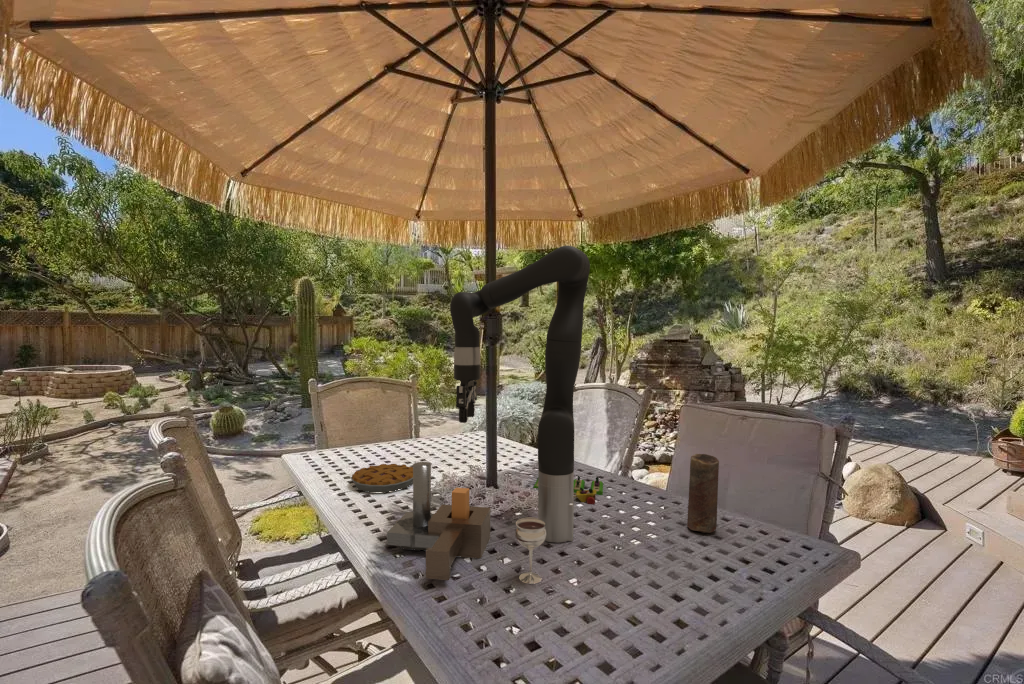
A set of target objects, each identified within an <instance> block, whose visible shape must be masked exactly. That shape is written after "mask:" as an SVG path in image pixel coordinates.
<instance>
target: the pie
mask: <svg viewBox="0 0 1024 684" xmlns="http://www.w3.org/2000/svg"><path fill="white" fill-rule="evenodd" d="M350 479H351V482H352V483H354V486H355V488H356V489H357V488H358V490H359V489H360V490H359V491H361V490H363V491H362V492H364V491H369V492H368V493H370V492H389V491H395V490H398V489H401V488H405V487H407V486H408V487H410V486H412V485H413V466H407V465H406V464H398V463H391V464H386V463H382V464H379V465H378V464H377V465H370V466H369V467H362V468H360V469H359V470H355V471H354V473H353V474H351V476H350ZM409 485H410V486H409ZM408 487H407V488H408ZM405 489H406V488H405ZM398 491H399V490H398ZM395 492H396V491H395ZM389 493H390V492H389Z"/></svg>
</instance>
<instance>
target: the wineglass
mask: <svg viewBox="0 0 1024 684" xmlns="http://www.w3.org/2000/svg"><path fill="white" fill-rule="evenodd" d="M515 525H516V528H515V538H516V540H517V542H518V543H519V544H520V545H521V546H522V547H523V548H526V549H527V550H528V560H529V563H528V564H529V571H525V572H523V573H521V574H520V575H519V580H520V582H522V583H524V584H531V585H532V584H533V585H534V584H538V583H540V582H541V581H542V580H543V577H542V576H541V577H542V578H541V577H540V576H539V575H538V574H539V573H538V574H536V573H537V572H535V573H533V570H532V569H533V568H532V567H533V553H534V550H535V549H536V548H539V547H540V546H541V545H542V544H544V542H546V541H545V538H546V529H545V527H546V522H545V521H544V520H542V519H539V518H538V517H533V516H532V517H531V516H530V517H528V516H527V517H523V518H520V519H517V520H516V522H515Z"/></svg>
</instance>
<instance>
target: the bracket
mask: <svg viewBox="0 0 1024 684" xmlns="http://www.w3.org/2000/svg"><path fill="white" fill-rule="evenodd" d="M491 511H492V510H491V507H487V506H486V507H484V506H471V505H469V519H455V518H452V504H441V505H440V506H439V508H437V510H436V511H435V512H434V513H433V514H434V515H433V516H432V517H431V519H430V520H429V521H428V534H438V535H440V537H439V538H438V539H437V541H436V542H435V544H434V545H433V547H432V548H427V549H426V551H425V579H430V580H440V581H450V579H451V566H452V564H453V562H454V561H455V559H456V558H457V557H456V556H461V557H460V558H469V559H470V557H471V559H479V558H481V557H482V558H483V556H484V553H485V551H486V549H487V547H488V545H489V542H490V540H491ZM487 544H488V545H487ZM482 555H483V556H482ZM482 558H481V559H482Z"/></svg>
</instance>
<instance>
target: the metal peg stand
mask: <svg viewBox="0 0 1024 684" xmlns="http://www.w3.org/2000/svg"><path fill="white" fill-rule="evenodd" d="M412 467H413V483H412V511H406V512H405V513H404V514H403V515H402V516H401V517H400V519H398V520H395V522H394V525H393V526H391V528H390V529H389V530H388V531H387V532H386V545H388V546H398V547H400V549H401V548H402V549H401V550H408V549H413V550H412V551H420V550H426V549H427V548H432V547H433V545H434V544H435V542H436V541H437V539H438V538H439V537H440V535H438V534H428V521H429V520H430V519H431V517H432V516H433V515H434V514H435V513H432V511H431V510H432V487H431V485H432V481H431V480H432V463H431V462H427V461H418V462H415V463H413V464H412ZM403 548H404V549H403ZM414 549H415V550H414Z"/></svg>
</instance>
